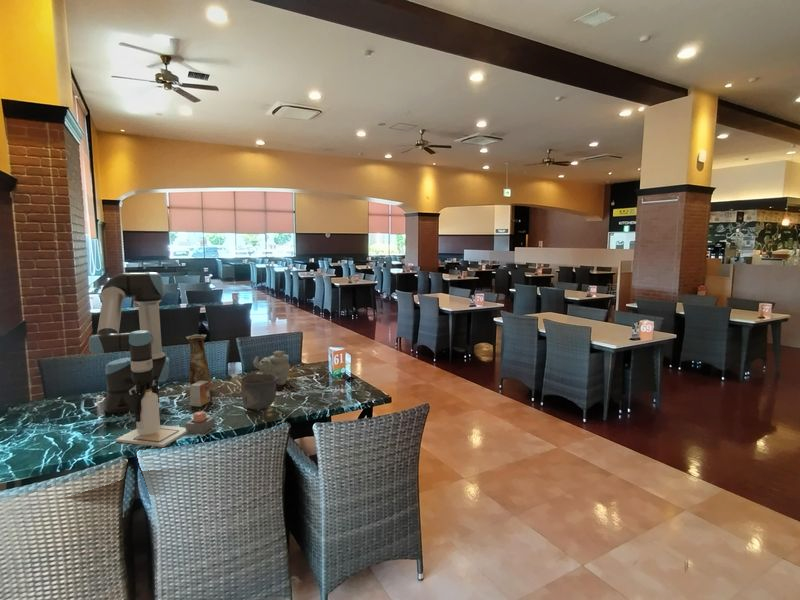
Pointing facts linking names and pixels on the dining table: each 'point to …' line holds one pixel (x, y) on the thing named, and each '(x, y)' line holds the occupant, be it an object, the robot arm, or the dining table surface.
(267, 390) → the cup
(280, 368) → the teapot
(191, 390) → the small box
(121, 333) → the robot arm
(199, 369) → the vase
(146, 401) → the potion bottle
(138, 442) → the colouring board
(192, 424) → the button housing
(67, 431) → the dining table surface
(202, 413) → the button
